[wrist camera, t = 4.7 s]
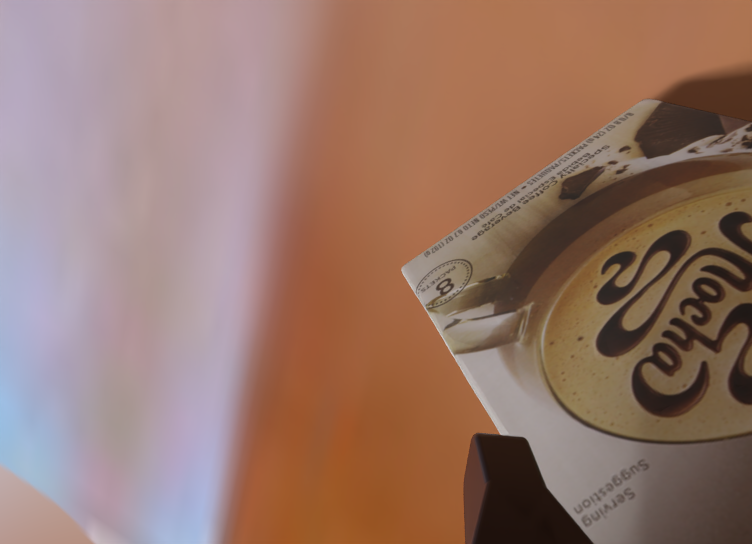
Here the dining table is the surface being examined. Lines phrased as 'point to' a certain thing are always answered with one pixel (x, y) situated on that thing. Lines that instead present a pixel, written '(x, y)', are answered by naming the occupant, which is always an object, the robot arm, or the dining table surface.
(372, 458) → the dining table surface
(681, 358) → the coffee box
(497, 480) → the robot arm
